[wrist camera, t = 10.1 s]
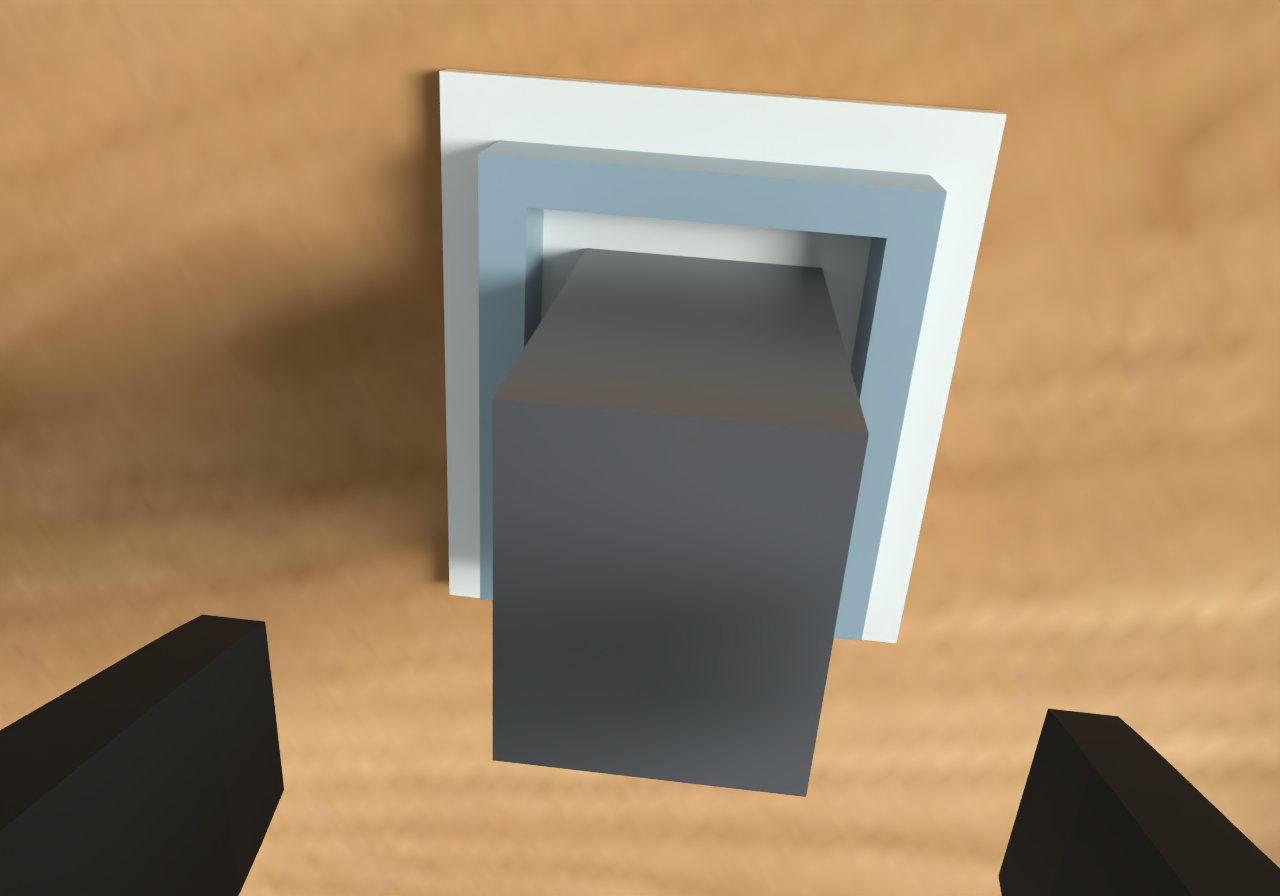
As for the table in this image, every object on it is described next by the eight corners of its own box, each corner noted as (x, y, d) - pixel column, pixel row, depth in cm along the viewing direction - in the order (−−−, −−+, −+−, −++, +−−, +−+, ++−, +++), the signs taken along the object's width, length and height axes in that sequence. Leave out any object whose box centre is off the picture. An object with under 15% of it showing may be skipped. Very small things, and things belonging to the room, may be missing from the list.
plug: (576, 505, 19) (492, 759, 13) (586, 247, 17) (492, 398, 11) (785, 527, 19) (805, 797, 13) (821, 268, 17) (869, 434, 10)
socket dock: (456, 581, 21) (427, 637, 19) (448, 68, 16) (411, 78, 15) (892, 628, 20) (907, 691, 18) (999, 110, 16) (1032, 125, 14)
